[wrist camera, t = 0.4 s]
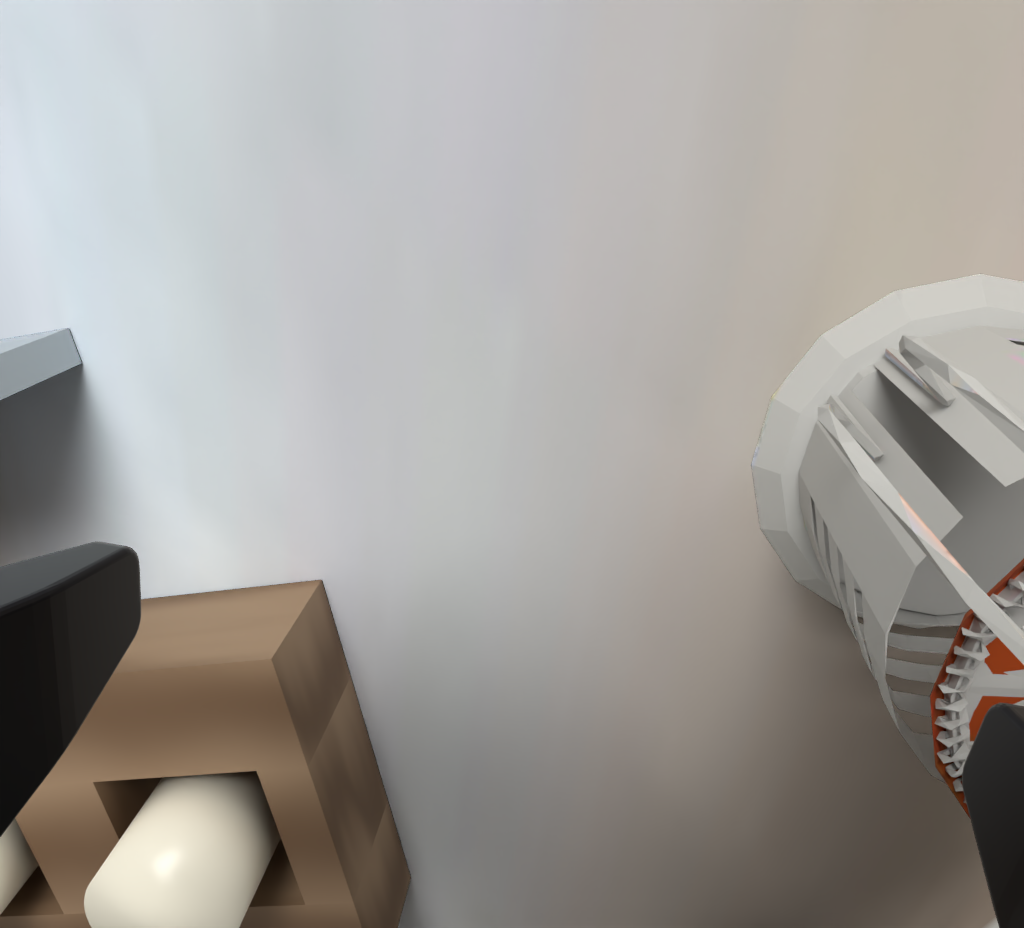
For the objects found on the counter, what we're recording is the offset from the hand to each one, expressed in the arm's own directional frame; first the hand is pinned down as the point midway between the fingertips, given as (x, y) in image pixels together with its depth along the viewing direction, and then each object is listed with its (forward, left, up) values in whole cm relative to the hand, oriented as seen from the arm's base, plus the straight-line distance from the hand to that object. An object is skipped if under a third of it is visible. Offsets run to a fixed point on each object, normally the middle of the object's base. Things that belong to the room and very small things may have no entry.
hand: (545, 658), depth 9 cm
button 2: (-12, +13, -11) cm, 21 cm away
